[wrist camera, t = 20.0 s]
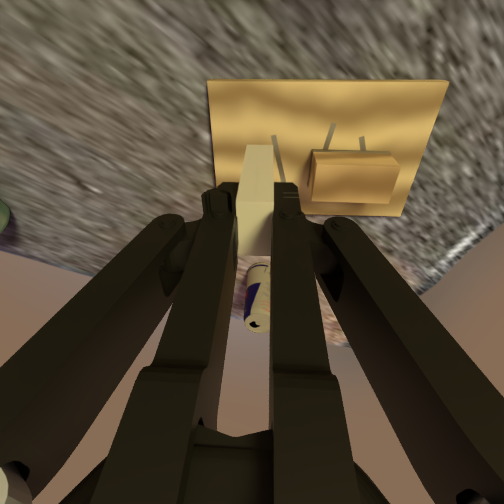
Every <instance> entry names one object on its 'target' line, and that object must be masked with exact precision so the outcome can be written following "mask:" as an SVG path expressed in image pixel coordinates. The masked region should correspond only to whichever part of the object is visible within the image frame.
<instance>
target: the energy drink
mask: <svg viewBox="0 0 504 504" xmlns="http://www.w3.org/2000/svg"><path fill="white" fill-rule="evenodd" d="M244 322H245V326H246V327H247V328H248V329H249V330H250V331H252V332H256V333H265V332H269V331H270V265H269V264H267V263H257V264H254V265H252V266H251V267H250V268H249V270H248V276H247V287H246V298H245V308H244Z"/></svg>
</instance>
